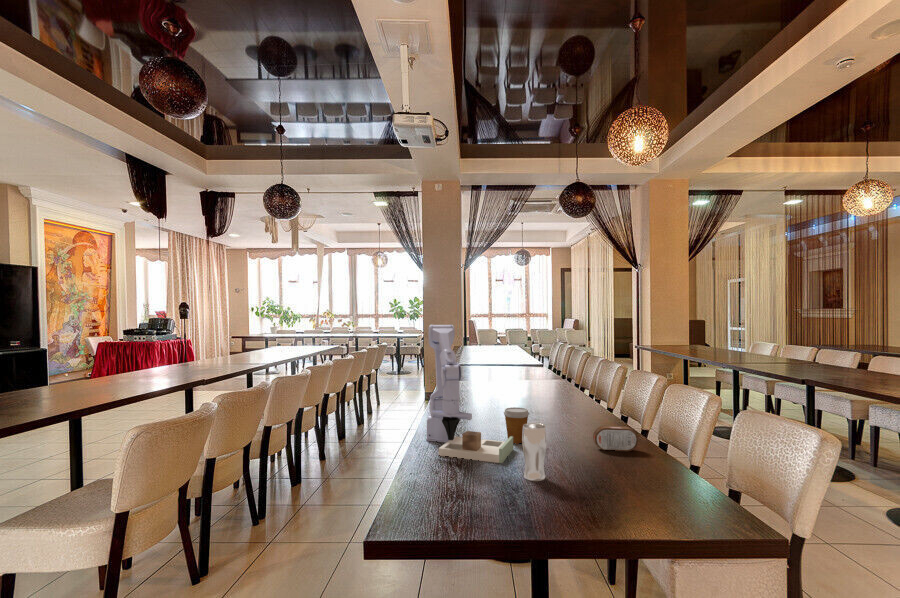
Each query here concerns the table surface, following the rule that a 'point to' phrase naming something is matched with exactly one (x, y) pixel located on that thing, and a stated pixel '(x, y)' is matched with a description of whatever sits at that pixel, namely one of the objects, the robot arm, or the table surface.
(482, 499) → the table surface
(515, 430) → the disposable coffee cup
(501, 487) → the table surface
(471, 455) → the trap board
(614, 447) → the tin
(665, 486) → the table surface
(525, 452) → the beer glass
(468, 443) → the walnut block
